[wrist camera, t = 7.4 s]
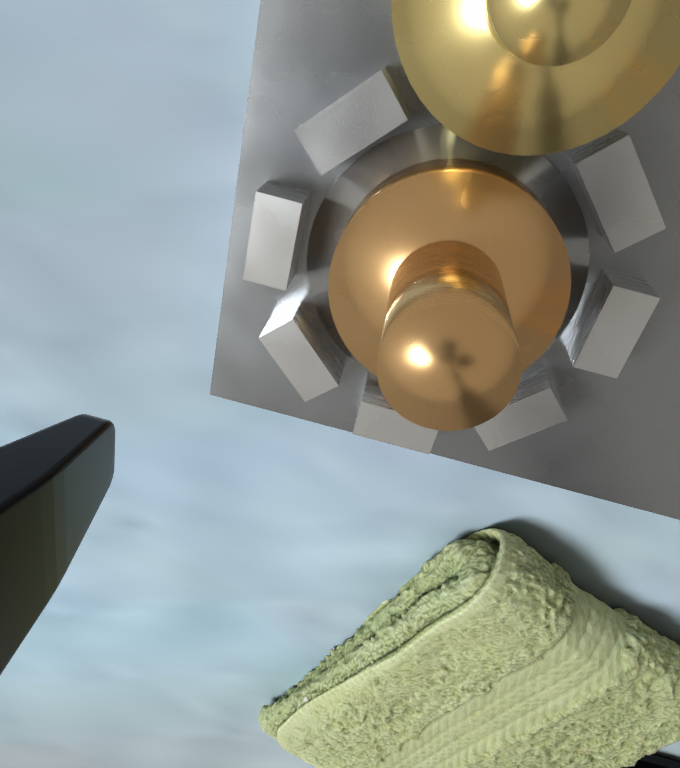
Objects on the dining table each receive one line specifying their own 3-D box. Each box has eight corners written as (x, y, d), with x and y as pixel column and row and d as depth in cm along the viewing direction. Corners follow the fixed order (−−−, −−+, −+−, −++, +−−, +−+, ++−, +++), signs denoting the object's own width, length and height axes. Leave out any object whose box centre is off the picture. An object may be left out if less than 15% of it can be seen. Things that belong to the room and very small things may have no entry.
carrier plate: (1153, -47, 13) (1495, -81, 9) (729, 511, 21) (799, 630, 17) (309, -264, 13) (247, -399, 9) (221, 376, 21) (168, 461, 17)
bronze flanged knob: (598, 192, 15) (672, 269, 10) (511, 391, 18) (537, 520, 14) (365, 131, 15) (331, 179, 10) (317, 339, 18) (275, 450, 14)
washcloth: (251, 697, 31) (233, 762, 28) (482, 492, 23) (488, 558, 20) (454, 803, 34) (455, 873, 31) (732, 655, 25) (768, 733, 22)
